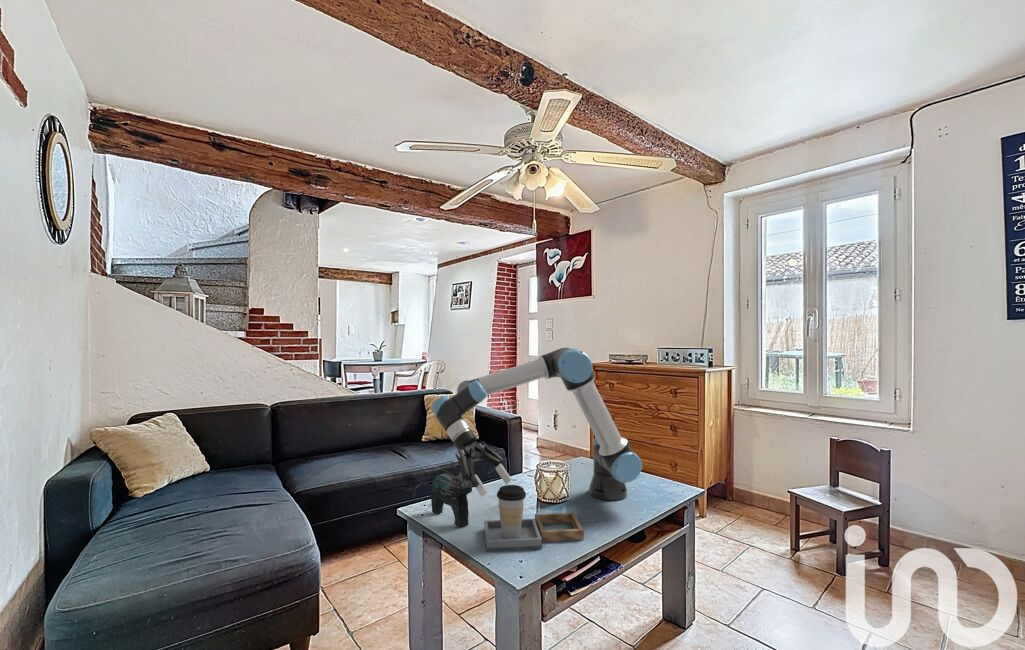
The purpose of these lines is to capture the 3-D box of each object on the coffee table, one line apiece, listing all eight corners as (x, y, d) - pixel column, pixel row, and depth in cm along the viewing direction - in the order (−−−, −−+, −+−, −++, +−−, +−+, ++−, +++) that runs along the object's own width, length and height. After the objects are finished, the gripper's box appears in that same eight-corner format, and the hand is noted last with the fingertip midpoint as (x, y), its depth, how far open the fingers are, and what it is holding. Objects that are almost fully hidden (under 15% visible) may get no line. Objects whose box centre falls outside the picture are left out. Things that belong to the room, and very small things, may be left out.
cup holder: (573, 521, 161) (573, 512, 161) (583, 539, 147) (583, 530, 147) (534, 522, 160) (534, 514, 160) (541, 541, 146) (541, 532, 146)
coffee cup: (500, 544, 142) (500, 495, 142) (493, 531, 151) (493, 485, 151) (529, 540, 145) (529, 492, 145) (520, 527, 154) (521, 482, 154)
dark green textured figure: (473, 526, 157) (474, 467, 157) (458, 532, 153) (458, 471, 153) (440, 508, 172) (441, 455, 171) (426, 513, 167) (426, 458, 167)
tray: (534, 527, 156) (534, 518, 156) (541, 548, 141) (541, 539, 141) (484, 529, 154) (484, 520, 154) (486, 551, 140) (486, 541, 140)
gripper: (478, 435, 171) (511, 483, 163) (431, 450, 150) (466, 506, 142) (489, 422, 168) (524, 471, 160) (443, 436, 147) (480, 493, 139)
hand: (497, 487), depth 151 cm, fingers open, 13 cm apart
